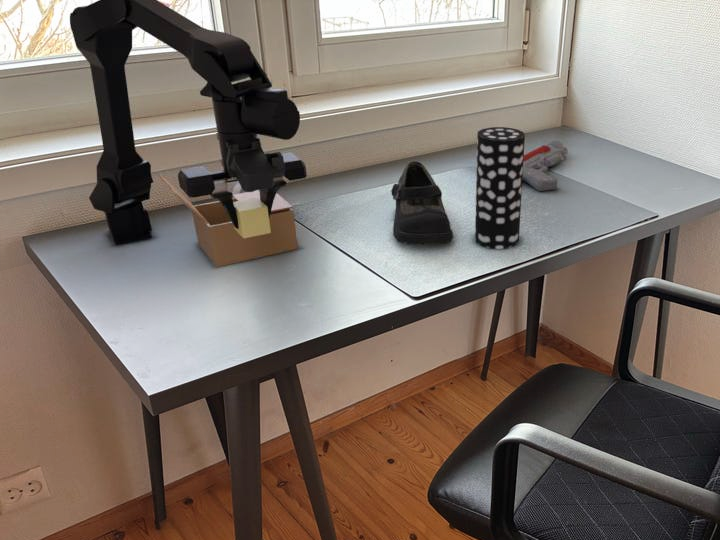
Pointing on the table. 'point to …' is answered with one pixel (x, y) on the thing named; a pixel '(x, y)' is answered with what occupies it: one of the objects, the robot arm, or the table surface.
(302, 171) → the robot arm
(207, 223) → the flap
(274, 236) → the carton
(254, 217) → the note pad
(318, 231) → the table surface
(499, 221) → the spotted tube
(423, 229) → the shoe
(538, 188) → the toy gun
